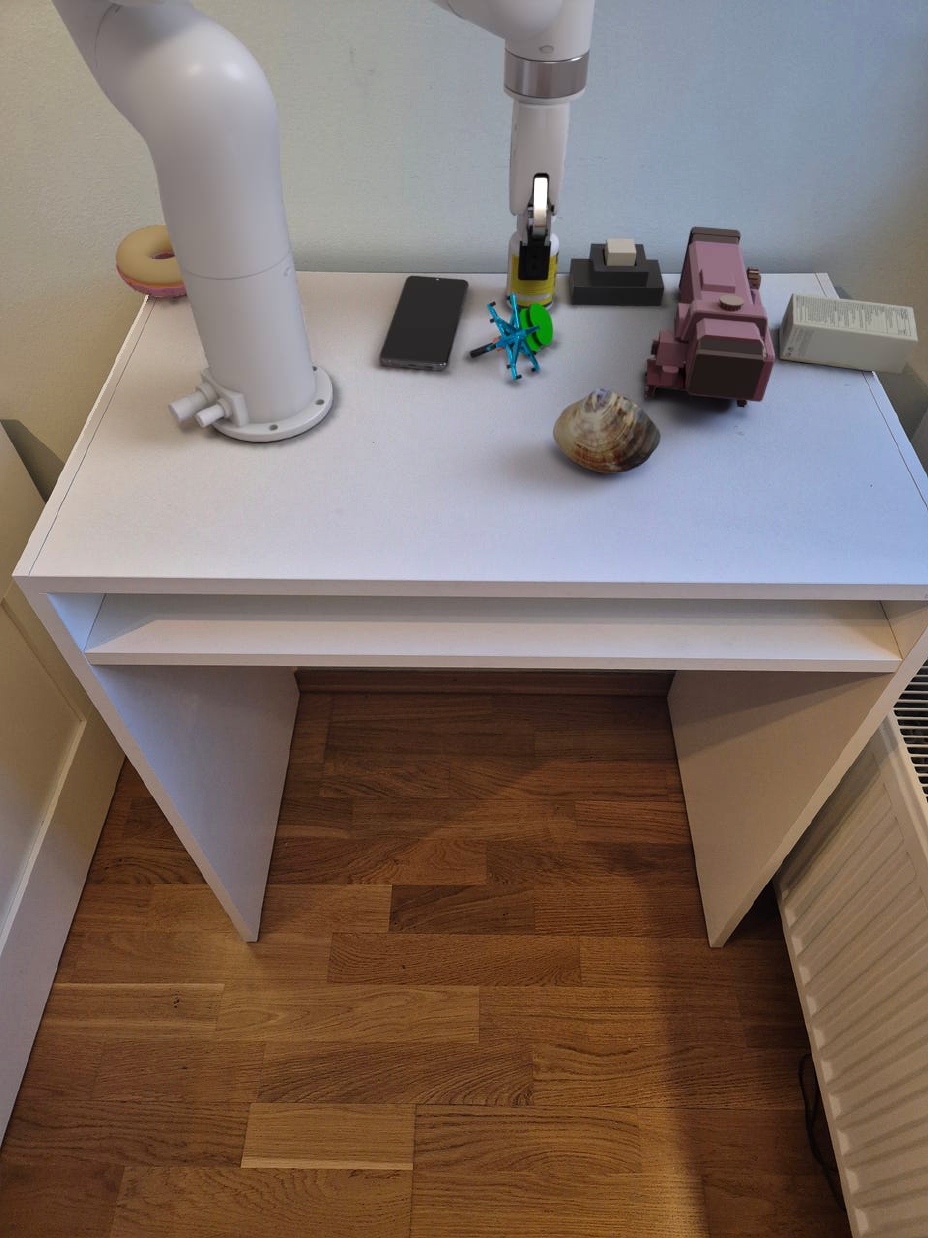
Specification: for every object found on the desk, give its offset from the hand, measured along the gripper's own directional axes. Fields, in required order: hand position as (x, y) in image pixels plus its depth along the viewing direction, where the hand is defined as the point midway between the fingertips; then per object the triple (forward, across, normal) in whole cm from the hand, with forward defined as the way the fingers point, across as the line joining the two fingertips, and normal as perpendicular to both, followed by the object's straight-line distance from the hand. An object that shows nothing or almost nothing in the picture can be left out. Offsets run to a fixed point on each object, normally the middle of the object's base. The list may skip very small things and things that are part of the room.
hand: (532, 261), depth 86 cm
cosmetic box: (+3, +7, +26) cm, 27 cm away
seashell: (+5, +27, +6) cm, 28 cm away
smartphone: (+5, +5, -11) cm, 13 cm away
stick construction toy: (+5, +10, -2) cm, 11 cm away
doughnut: (0, -4, -42) cm, 42 cm away
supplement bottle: (+5, 0, 0) cm, 5 cm away
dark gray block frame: (+5, -3, +10) cm, 11 cm away
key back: (+1, -3, +10) cm, 10 cm away
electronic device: (+5, +10, +17) cm, 21 cm away
